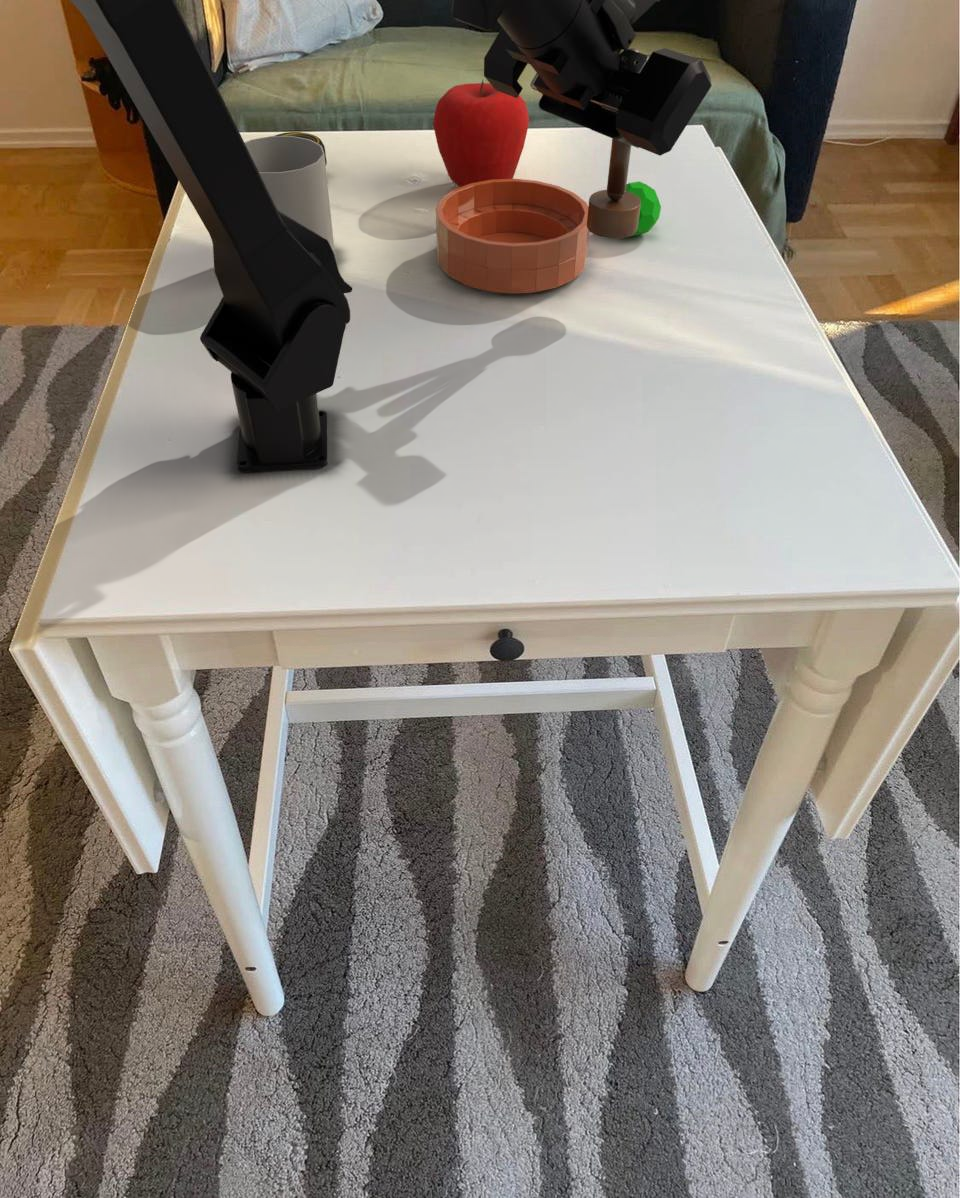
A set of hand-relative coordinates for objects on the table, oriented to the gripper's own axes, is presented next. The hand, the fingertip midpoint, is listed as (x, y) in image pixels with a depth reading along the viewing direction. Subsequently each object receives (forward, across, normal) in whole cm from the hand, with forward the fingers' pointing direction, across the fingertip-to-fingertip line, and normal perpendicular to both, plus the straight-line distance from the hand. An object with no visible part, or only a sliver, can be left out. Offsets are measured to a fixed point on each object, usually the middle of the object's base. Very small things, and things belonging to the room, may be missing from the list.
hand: (632, 138), depth 78 cm
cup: (-4, +24, +24) cm, 34 cm away
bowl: (+7, +10, +12) cm, 17 cm away
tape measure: (+4, +40, +16) cm, 43 cm away
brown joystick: (+4, 0, +6) cm, 7 cm away
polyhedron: (+17, +7, +2) cm, 18 cm away
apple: (+14, +25, +6) cm, 29 cm away
